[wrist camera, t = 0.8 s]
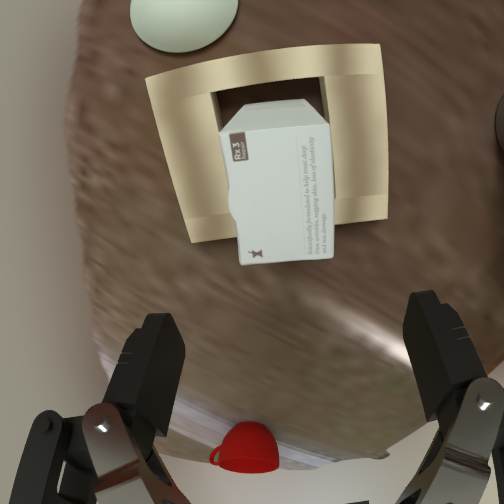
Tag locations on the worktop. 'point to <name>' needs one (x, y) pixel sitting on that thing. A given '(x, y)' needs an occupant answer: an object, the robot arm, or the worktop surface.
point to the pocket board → (261, 71)
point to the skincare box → (280, 181)
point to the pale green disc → (181, 22)
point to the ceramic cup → (247, 449)
